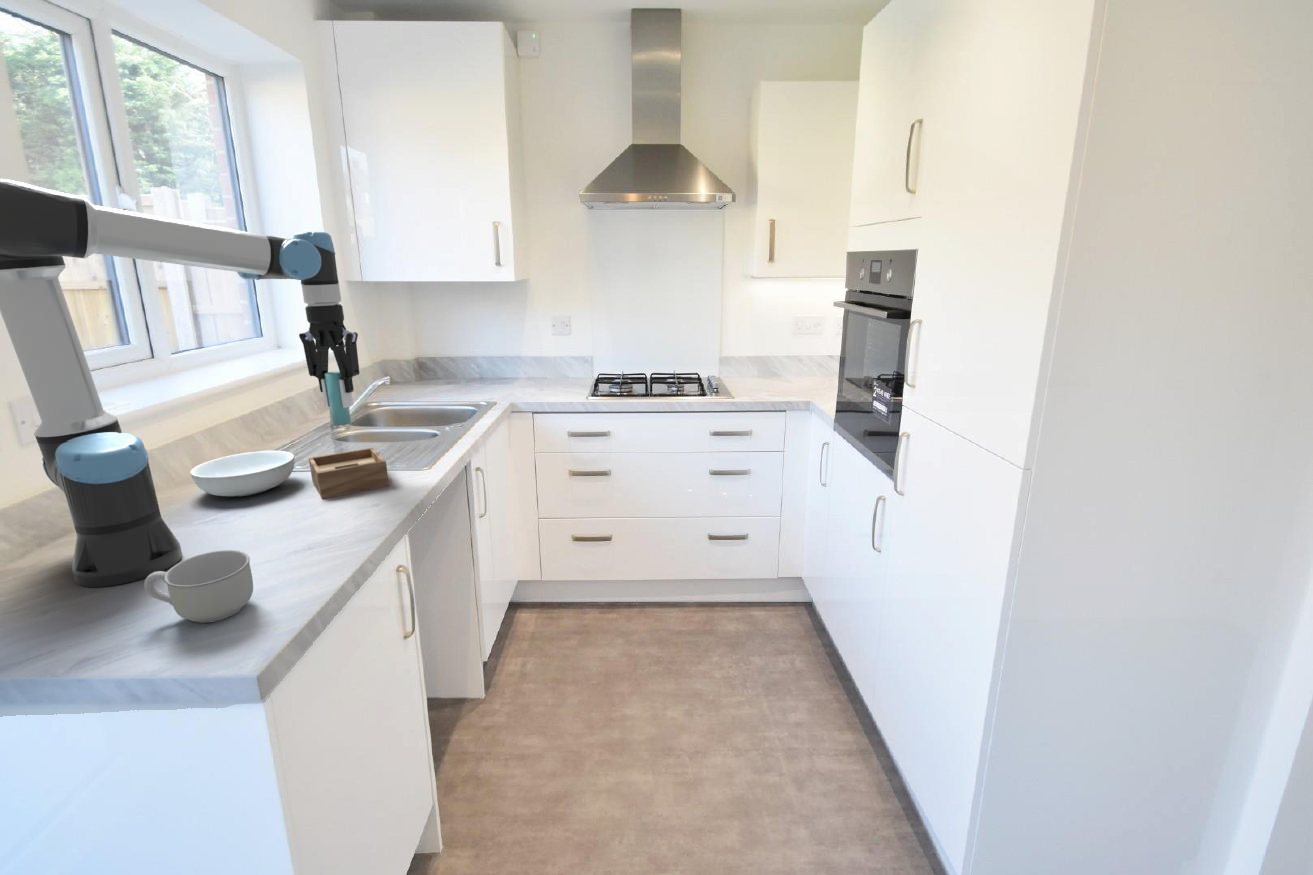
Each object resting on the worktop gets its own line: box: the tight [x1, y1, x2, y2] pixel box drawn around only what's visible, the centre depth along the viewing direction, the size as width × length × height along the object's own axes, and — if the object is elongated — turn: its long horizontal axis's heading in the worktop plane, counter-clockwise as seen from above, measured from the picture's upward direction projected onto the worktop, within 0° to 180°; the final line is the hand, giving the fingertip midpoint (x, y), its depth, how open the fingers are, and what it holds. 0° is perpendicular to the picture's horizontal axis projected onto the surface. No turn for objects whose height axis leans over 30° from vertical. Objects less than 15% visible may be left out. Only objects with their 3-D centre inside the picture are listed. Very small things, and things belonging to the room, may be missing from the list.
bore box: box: [308, 447, 390, 499], centre depth 157 cm, size 15×15×6 cm
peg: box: [325, 370, 352, 426], centre depth 153 cm, size 4×4×12 cm
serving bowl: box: [189, 450, 295, 497], centre depth 154 cm, size 21×21×7 cm
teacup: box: [143, 549, 254, 624], centre depth 100 cm, size 14×11×8 cm
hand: (339, 405), depth 153 cm, fingers closed on peg, 4 cm apart
